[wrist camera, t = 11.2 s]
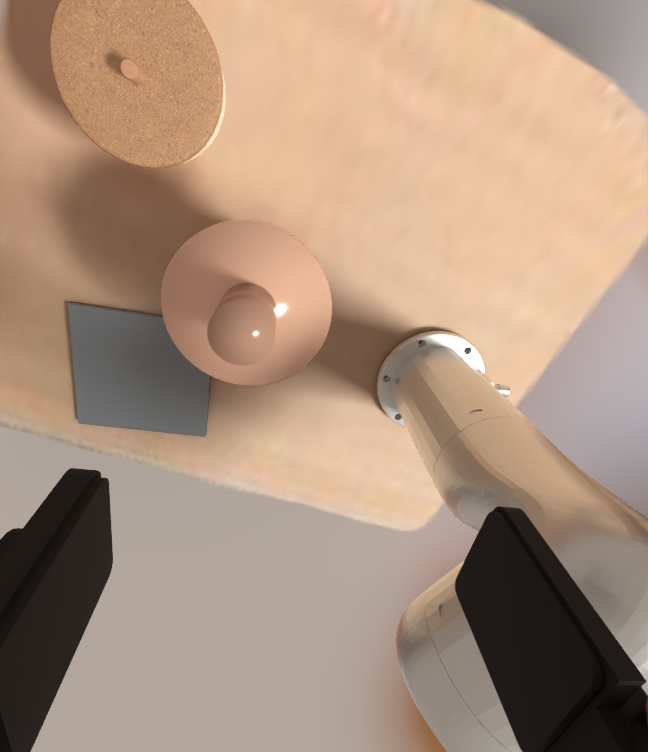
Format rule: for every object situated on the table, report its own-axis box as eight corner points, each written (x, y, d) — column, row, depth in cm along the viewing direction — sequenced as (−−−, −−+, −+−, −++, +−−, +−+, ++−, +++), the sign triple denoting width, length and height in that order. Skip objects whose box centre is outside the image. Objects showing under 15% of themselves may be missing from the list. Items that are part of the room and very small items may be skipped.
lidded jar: (108, -14, 29) (37, -93, 21) (249, 50, 32) (236, 2, 23) (93, 142, 34) (29, 129, 25) (219, 189, 36) (198, 191, 27)
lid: (345, 236, 27) (359, 249, 22) (316, 389, 32) (321, 428, 27) (164, 203, 25) (132, 209, 20) (163, 370, 30) (138, 409, 25)
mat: (214, 323, 41) (213, 325, 41) (205, 433, 47) (205, 436, 47) (70, 301, 39) (67, 303, 39) (80, 420, 45) (77, 423, 44)
